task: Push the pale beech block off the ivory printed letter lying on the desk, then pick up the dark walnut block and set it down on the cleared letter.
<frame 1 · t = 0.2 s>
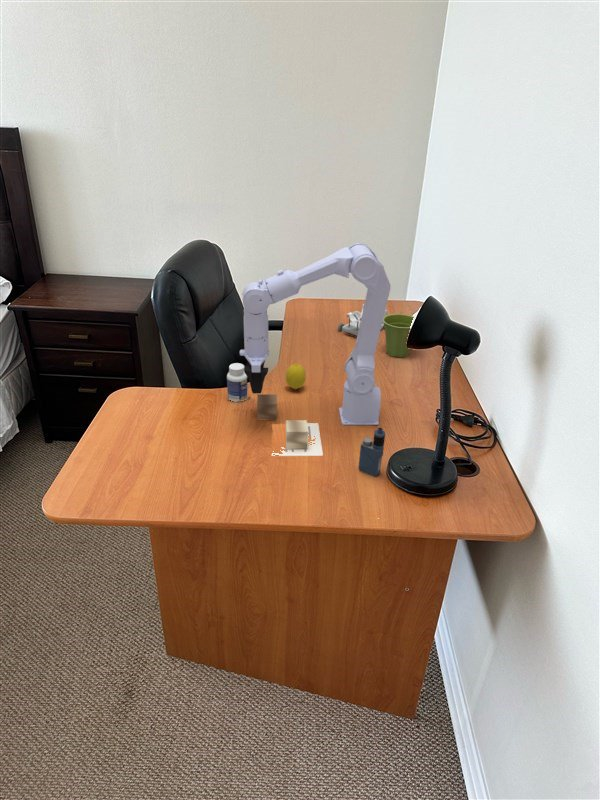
hand: (257, 385, 139), 10 cm above the table, tool pointing down, fingers open, 7 cm apart
letter: (295, 439, 136), on the table
lemon: (295, 389, 158), on the table
vaping device: (369, 472, 126), on the table
pill bottle: (237, 398, 153), on the table
beech block: (296, 443, 135), resting on letter
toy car: (361, 332, 196), on the table
plant pot: (397, 353, 181), on the table
walnut block: (267, 415, 146), on the table
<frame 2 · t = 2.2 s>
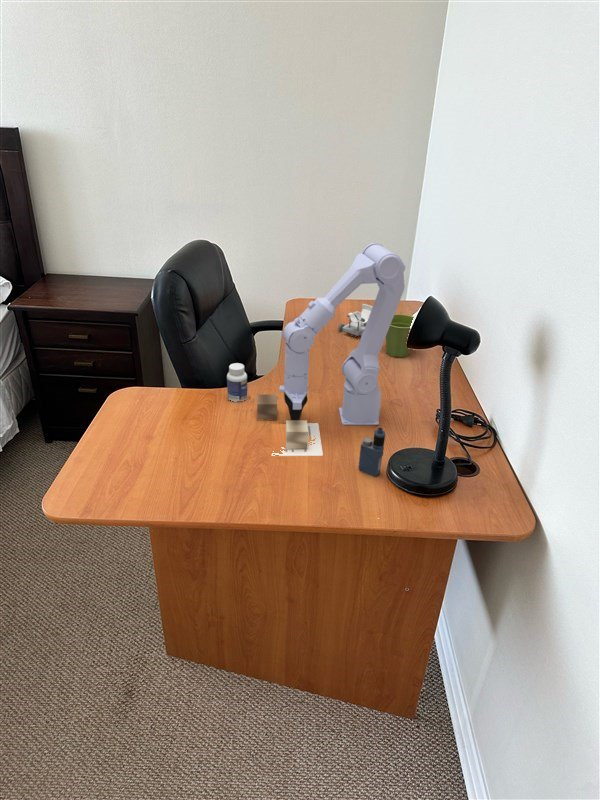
hand: (295, 419, 141), 2 cm above the table, tool pointing down, fingers closed
nothing on the table moved.
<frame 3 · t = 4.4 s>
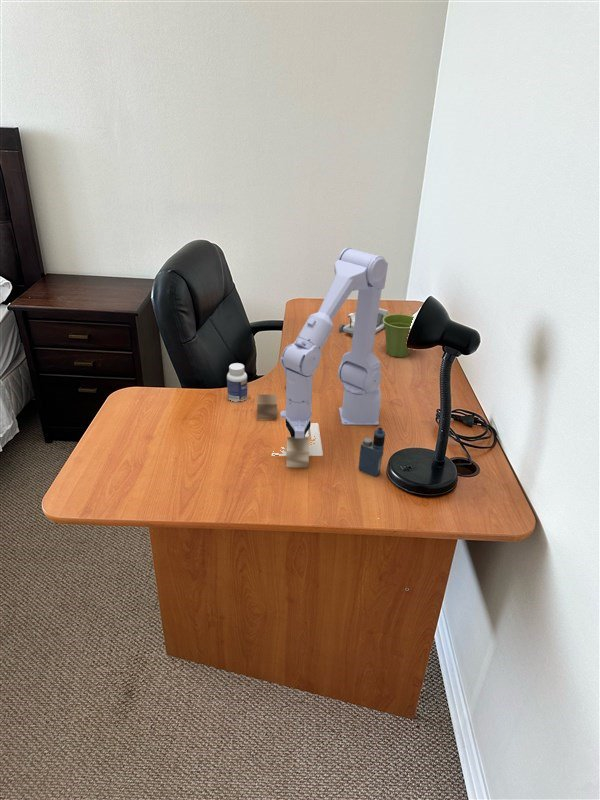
hand: (297, 446, 130), 2 cm above the table, tool pointing down, fingers closed, pressing on beech block
beech block: (297, 460, 129), on the table, touching gripper
everything else where it was.
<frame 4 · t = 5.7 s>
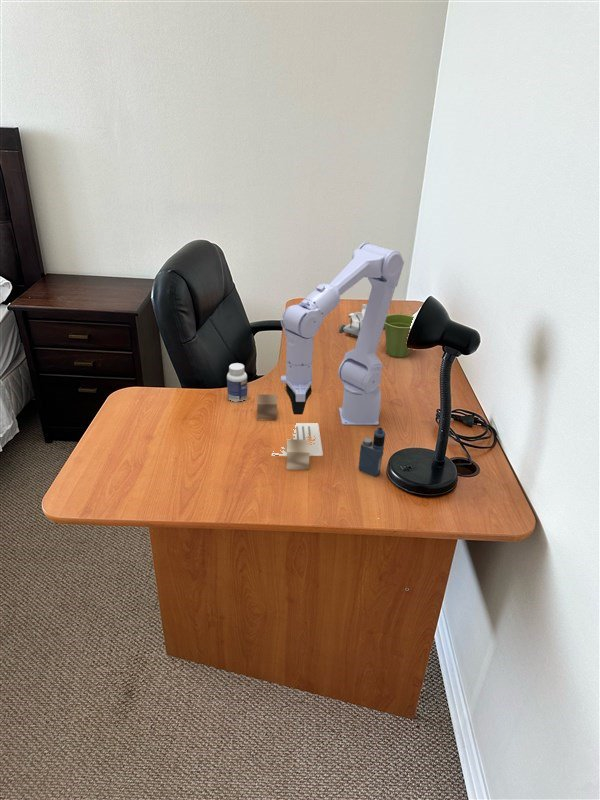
hand: (297, 412, 129), 10 cm above the table, tool pointing down, fingers closed
beech block: (297, 463, 128), on the table
everything else where it was.
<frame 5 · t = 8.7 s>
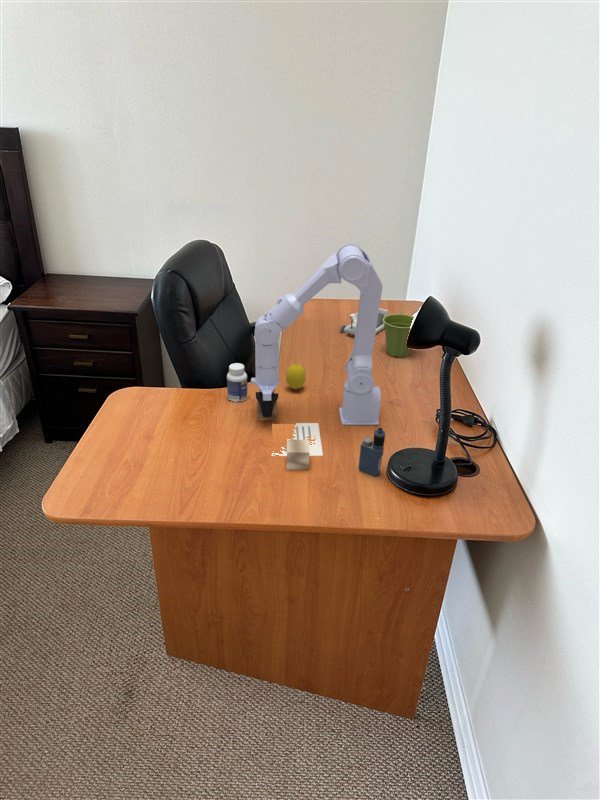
hand: (267, 410, 145), 1 cm above the table, tool pointing down, fingers closed on walnut block, 5 cm apart
walnut block: (267, 415, 146), on the table, touching gripper
everything else where it was.
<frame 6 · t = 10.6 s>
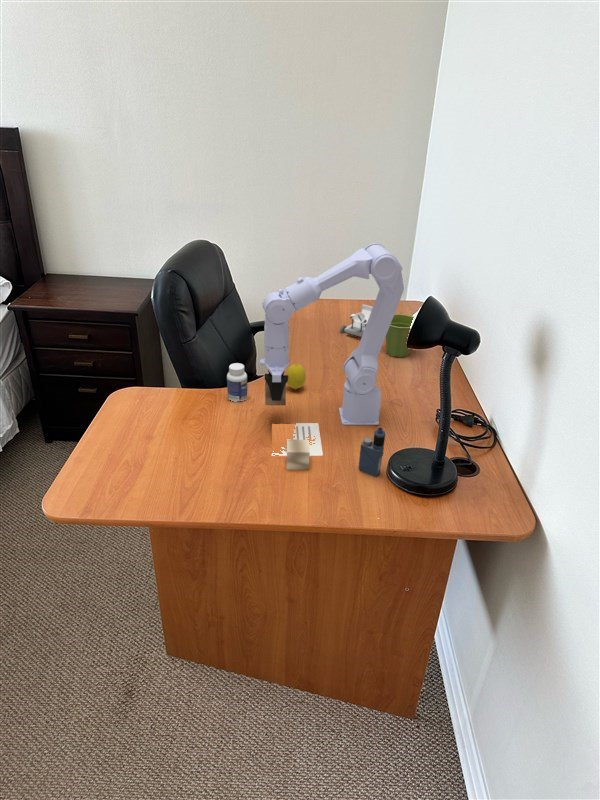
hand: (276, 394, 139), 8 cm above the table, tool pointing down, fingers closed on walnut block, 5 cm apart
walnut block: (275, 400, 139), point 7 cm above the table, touching gripper
when the fingers open (2 cm above the table, at t = 12.8 s): walnut block stays where it is, resting on letter.
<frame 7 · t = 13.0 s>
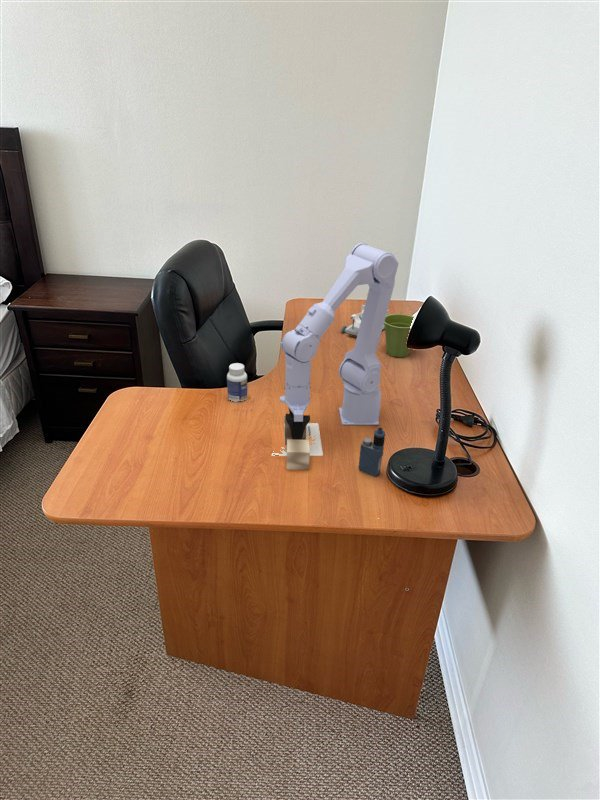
hand: (296, 431, 135), 2 cm above the table, tool pointing down, fingers open, 7 cm apart
walnut block: (294, 438, 136), resting on letter
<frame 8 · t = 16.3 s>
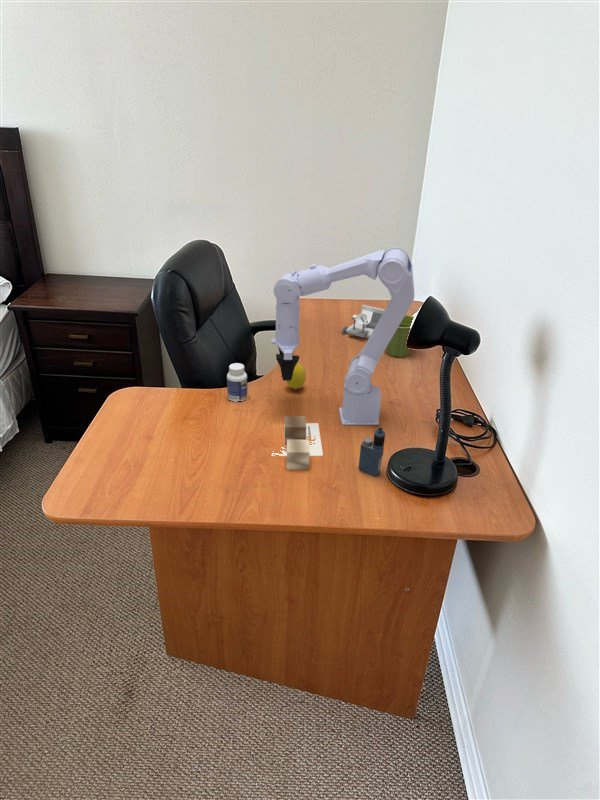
hand: (286, 372, 144), 10 cm above the table, tool pointing down, fingers open, 7 cm apart
at the end: walnut block inside the target area on the letter (0.3 cm from its centre), point 0.2 cm above the letter's base; beech block touching table; beech block moved 7.7 cm from its start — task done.
